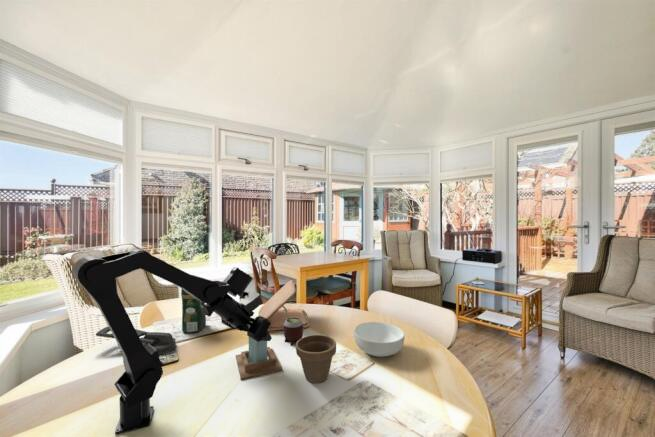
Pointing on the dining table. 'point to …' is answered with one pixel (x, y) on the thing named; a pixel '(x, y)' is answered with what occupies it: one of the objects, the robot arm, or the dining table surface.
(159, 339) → the zipper pull
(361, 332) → the cereal bowl
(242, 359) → the picture frame
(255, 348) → the pale blue rectangular block
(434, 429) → the dining table surface
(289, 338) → the mate gourd
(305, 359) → the flower pot
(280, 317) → the case
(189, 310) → the coffee jar
